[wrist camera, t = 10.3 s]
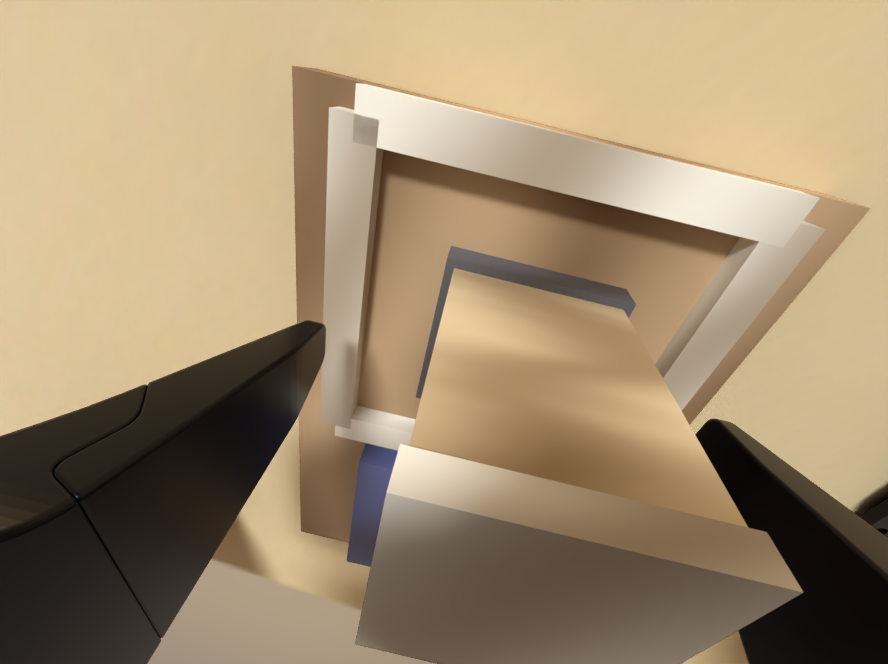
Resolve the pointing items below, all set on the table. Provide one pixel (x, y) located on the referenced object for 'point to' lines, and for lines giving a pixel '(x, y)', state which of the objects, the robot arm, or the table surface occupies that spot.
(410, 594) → the stamp
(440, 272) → the board
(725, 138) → the table surface
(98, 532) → the robot arm
